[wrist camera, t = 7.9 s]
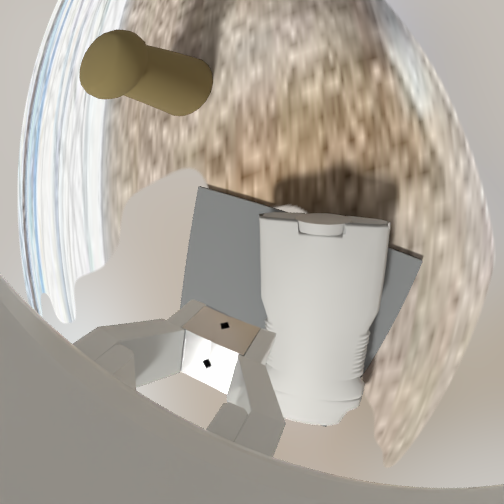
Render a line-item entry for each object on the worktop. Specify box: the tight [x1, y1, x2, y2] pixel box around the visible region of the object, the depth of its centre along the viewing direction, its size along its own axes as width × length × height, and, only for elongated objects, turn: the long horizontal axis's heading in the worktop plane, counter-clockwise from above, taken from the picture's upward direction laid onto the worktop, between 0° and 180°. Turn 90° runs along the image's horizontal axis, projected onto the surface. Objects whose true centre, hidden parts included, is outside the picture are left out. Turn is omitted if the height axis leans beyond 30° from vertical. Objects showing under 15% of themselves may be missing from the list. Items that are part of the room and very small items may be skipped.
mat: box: [180, 186, 422, 427], centre depth 26 cm, size 22×20×1 cm
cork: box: [80, 30, 213, 116], centre depth 17 cm, size 6×6×11 cm
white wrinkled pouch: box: [259, 212, 390, 425], centre depth 23 cm, size 11×4×22 cm
